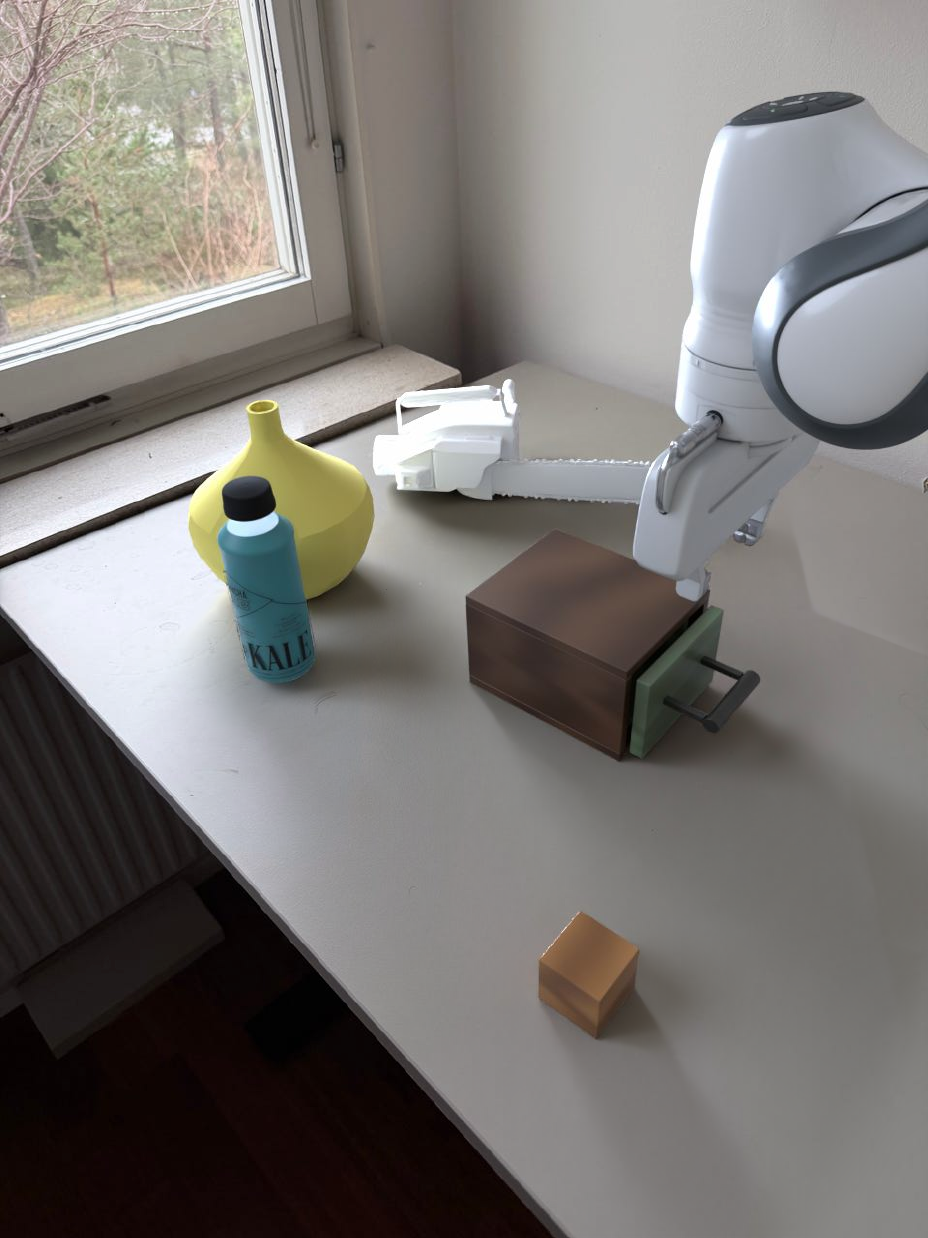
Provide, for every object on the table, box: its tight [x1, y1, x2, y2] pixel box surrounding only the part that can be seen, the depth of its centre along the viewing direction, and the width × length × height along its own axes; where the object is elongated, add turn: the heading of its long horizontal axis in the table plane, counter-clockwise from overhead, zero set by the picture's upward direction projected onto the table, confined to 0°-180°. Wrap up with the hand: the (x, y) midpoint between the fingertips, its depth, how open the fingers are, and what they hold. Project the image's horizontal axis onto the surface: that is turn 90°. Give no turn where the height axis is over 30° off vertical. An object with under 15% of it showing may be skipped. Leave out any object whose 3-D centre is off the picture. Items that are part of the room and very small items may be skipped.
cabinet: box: [464, 527, 711, 762], centre depth 81 cm, size 16×13×10 cm
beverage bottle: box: [217, 476, 318, 684], centre depth 80 cm, size 6×7×20 cm
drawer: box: [627, 604, 762, 759], centre depth 78 cm, size 20×12×8 cm, turn 50°
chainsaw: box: [372, 379, 653, 505], centre depth 108 cm, size 15×35×12 cm, turn 82°
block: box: [537, 910, 641, 1040], centre depth 59 cm, size 4×4×4 cm
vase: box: [187, 399, 376, 601], centre depth 92 cm, size 18×18×19 cm
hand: (720, 565), depth 67 cm, fingers open, 7 cm apart
